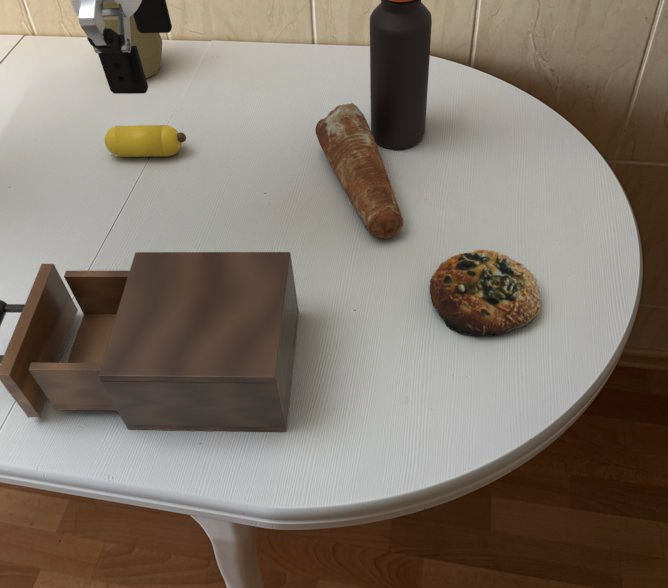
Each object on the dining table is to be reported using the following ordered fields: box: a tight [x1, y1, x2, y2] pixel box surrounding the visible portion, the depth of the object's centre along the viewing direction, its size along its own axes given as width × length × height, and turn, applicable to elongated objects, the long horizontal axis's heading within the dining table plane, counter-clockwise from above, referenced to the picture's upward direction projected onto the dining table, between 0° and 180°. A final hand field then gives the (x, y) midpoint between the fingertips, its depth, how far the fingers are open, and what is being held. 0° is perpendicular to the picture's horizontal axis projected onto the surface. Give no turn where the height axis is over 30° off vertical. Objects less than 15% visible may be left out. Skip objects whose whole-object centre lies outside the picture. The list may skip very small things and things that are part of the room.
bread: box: [315, 102, 404, 239], centre depth 80 cm, size 6×19×6 cm, turn 14°
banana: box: [104, 124, 187, 158], centre depth 87 cm, size 10×4×4 cm, turn 87°
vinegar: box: [369, 0, 433, 150], centre depth 80 cm, size 7×7×20 cm
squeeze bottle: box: [103, 3, 163, 79], centre depth 93 cm, size 8×8×18 cm
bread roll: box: [428, 249, 542, 337], centre depth 70 cm, size 11×11×5 cm
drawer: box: [0, 263, 130, 418], centre depth 65 cm, size 18×13×7 cm
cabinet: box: [98, 251, 300, 433], centre depth 64 cm, size 15×14×9 cm
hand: (143, 60), depth 63 cm, fingers open, 9 cm apart
